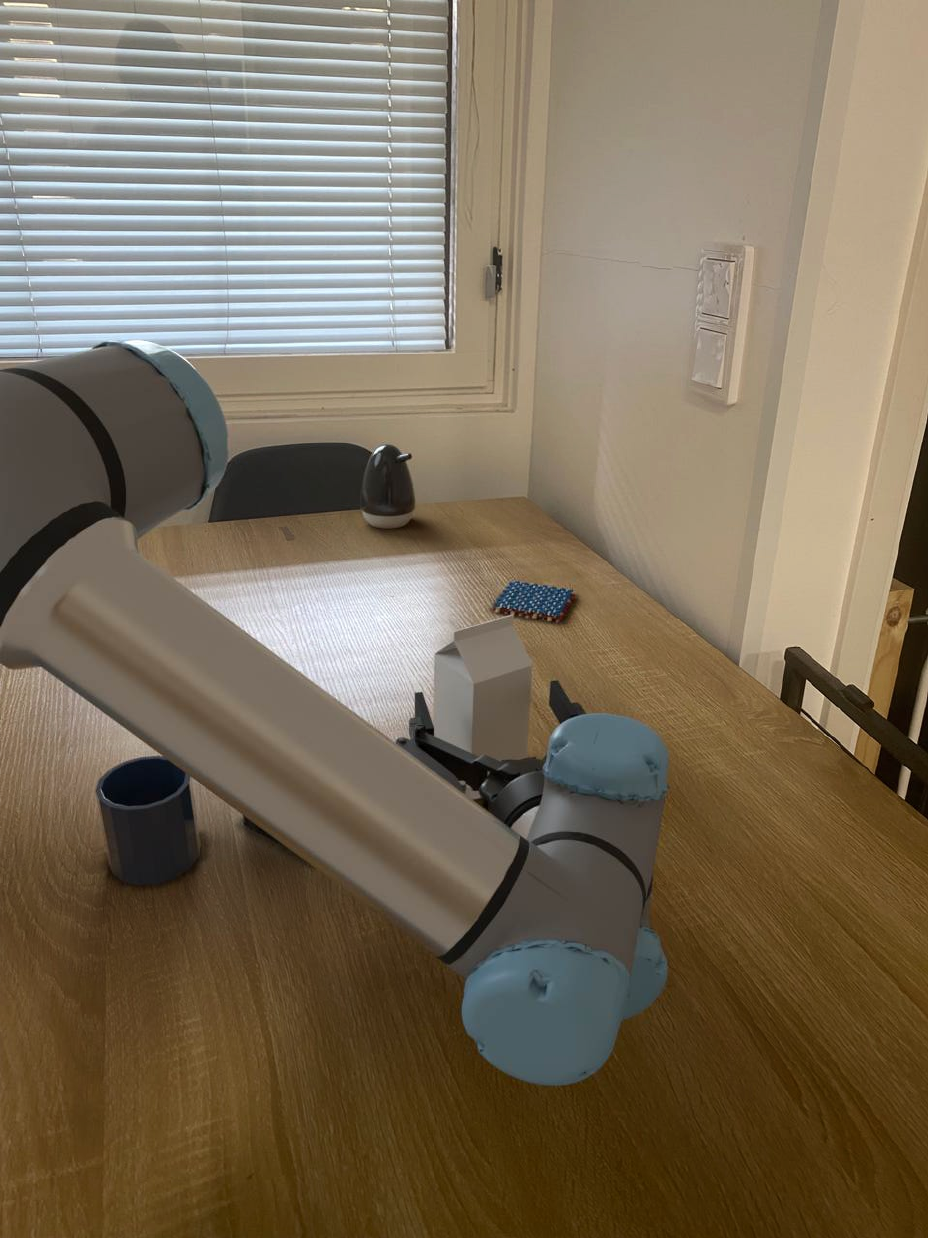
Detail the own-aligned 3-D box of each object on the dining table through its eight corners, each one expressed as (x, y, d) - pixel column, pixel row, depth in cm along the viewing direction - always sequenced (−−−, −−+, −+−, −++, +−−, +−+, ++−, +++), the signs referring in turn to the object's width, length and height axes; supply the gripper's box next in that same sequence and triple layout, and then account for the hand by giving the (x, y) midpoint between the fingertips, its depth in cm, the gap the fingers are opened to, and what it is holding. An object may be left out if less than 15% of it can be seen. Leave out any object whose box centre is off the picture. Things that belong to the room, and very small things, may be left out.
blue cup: (93, 881, 82) (76, 800, 78) (141, 826, 89) (128, 750, 85) (173, 897, 81) (160, 816, 77) (215, 840, 88) (206, 763, 84)
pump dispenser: (394, 539, 162) (393, 455, 155) (349, 527, 167) (346, 445, 160) (427, 523, 169) (427, 443, 163) (383, 512, 174) (381, 434, 168)
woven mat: (561, 628, 131) (562, 615, 130) (490, 616, 134) (491, 603, 133) (576, 599, 140) (577, 587, 139) (510, 589, 143) (511, 577, 142)
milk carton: (525, 788, 96) (535, 628, 88) (470, 811, 93) (475, 646, 84) (486, 756, 101) (492, 601, 93) (432, 776, 98) (433, 617, 90)
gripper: (389, 894, 70) (361, 742, 89) (691, 855, 75) (603, 719, 93) (388, 815, 67) (358, 675, 85) (703, 780, 71) (610, 654, 90)
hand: (486, 698), depth 89 cm, fingers open, 13 cm apart
